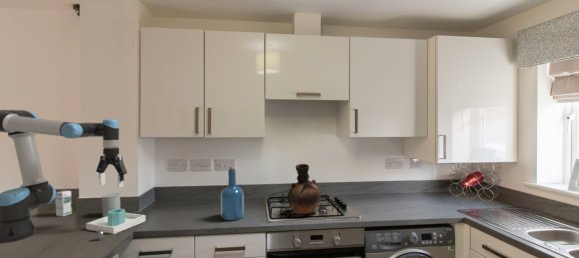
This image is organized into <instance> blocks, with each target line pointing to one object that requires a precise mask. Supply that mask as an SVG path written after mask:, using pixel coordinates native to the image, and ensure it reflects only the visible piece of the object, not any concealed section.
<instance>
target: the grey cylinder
mask: <svg viewBox="0 0 579 258" xmlns="http://www.w3.org/2000/svg"><path fill="white" fill-rule="evenodd" d="M101 201H102V205H101V206H102V208H101V209H102V218H103V217H106V216H108V215H107V213H108V211H111V210H114V209H121V193H118V192H112V193H105V194H103V195H101Z"/></svg>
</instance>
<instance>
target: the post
mask: <svg viewBox="0 0 579 258" xmlns="http://www.w3.org/2000/svg"><path fill="white" fill-rule="evenodd" d="M96 233H97V234H96V236H97V241H98V240H99V241H103V240H104V232H103V230H101V231H96Z"/></svg>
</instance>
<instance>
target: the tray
mask: <svg viewBox="0 0 579 258" xmlns="http://www.w3.org/2000/svg"><path fill="white" fill-rule="evenodd" d="M144 222H146V215H145V214H138V213H129V212H125V223H123V224H120V225H117V226H108V216H106V217H103V216H102V217H101V218H98V219H94V220H92V221H88V222H86V223H85V230H88V231H94V232H98V231H101V230H103V234H105V233H106V234H111V235H112V234H113V235H115V234H117V233H120V232H122V231H125V230H127V229H129V228H132V227H135V226H136V225H139V224H141V223H144Z"/></svg>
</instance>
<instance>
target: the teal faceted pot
mask: <svg viewBox="0 0 579 258" xmlns="http://www.w3.org/2000/svg"><path fill="white" fill-rule="evenodd" d="M125 213H126V210H125V208H120V209H114V210H111V211H108V213H107V215H108V226H117V225H120V224H123V223H125Z"/></svg>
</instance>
